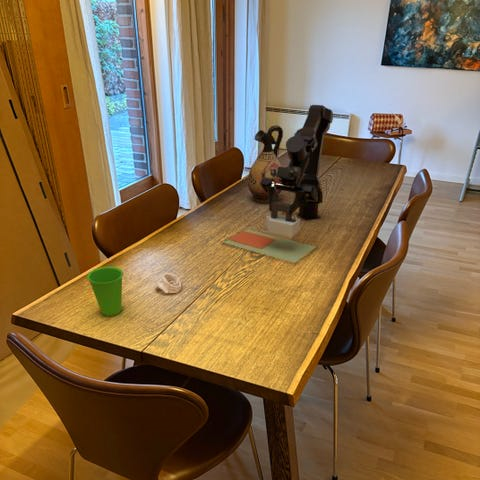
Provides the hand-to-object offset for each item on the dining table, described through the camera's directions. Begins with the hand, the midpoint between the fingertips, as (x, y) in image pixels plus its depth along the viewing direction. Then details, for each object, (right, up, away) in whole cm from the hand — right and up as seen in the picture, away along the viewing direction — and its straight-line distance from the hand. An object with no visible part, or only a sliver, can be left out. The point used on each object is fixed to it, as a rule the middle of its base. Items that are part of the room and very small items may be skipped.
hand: (279, 212), depth 152 cm
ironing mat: (-3, -9, +10) cm, 14 cm away
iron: (+1, -6, +5) cm, 8 cm away
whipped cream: (-33, -26, -15) cm, 45 cm away
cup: (-47, -32, -26) cm, 63 cm away
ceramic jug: (-1, +17, +51) cm, 54 cm away
